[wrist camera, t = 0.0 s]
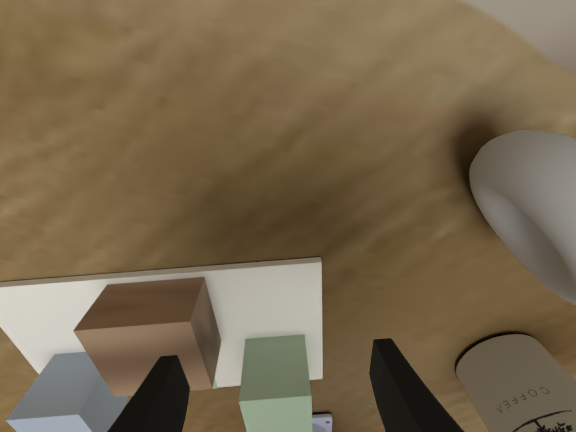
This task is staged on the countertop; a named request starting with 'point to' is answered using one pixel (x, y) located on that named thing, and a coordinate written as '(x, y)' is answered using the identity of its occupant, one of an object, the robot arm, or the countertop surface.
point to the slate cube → (67, 399)
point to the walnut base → (151, 332)
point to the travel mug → (518, 386)
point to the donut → (532, 202)
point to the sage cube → (276, 385)
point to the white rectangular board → (219, 279)
